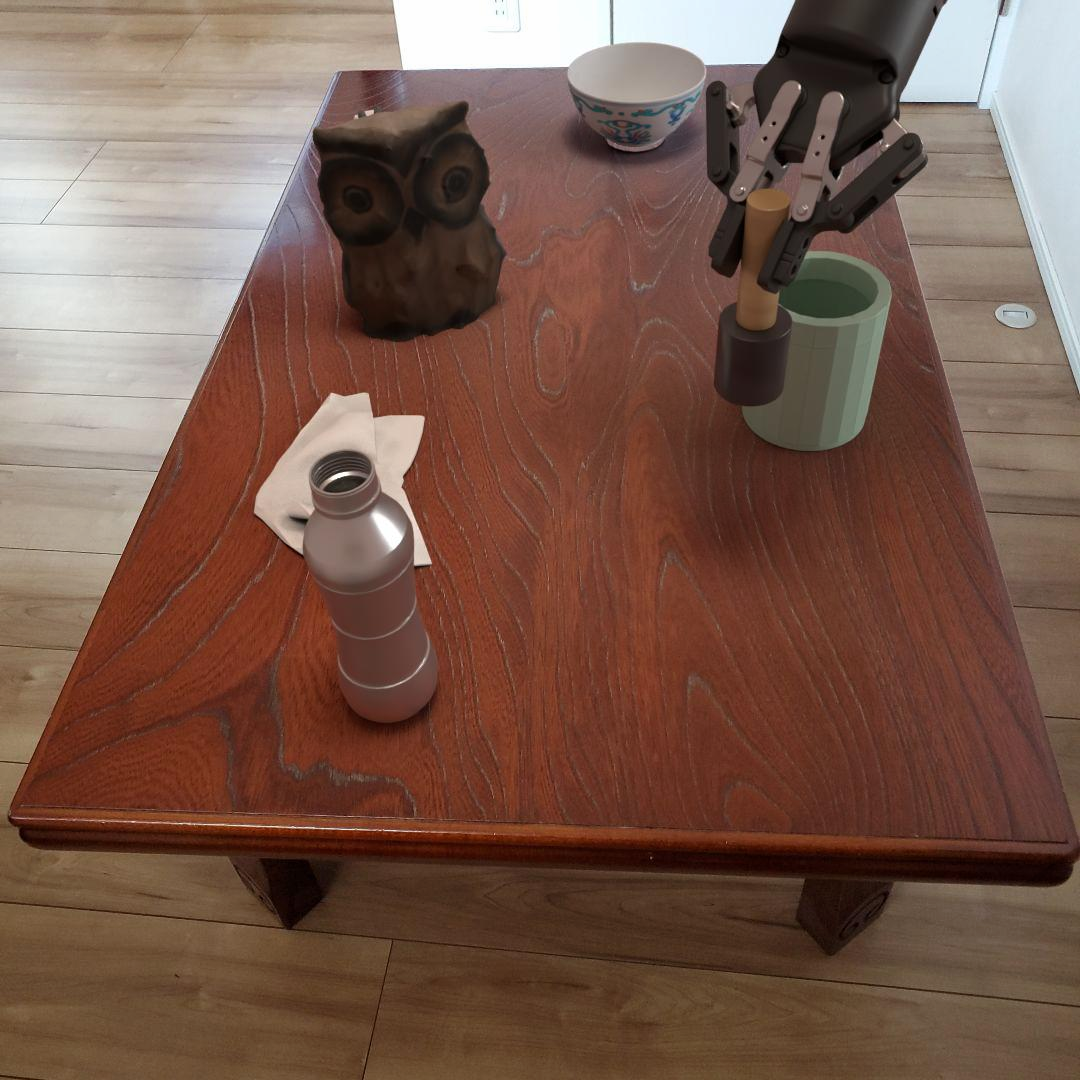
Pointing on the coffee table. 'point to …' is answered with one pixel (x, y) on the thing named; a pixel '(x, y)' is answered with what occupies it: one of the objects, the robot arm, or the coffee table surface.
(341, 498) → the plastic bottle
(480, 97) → the coffee table surface
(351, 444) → the cloth
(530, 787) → the coffee table surface
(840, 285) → the cup
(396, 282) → the owl
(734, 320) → the peg in round base
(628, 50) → the chinaware
